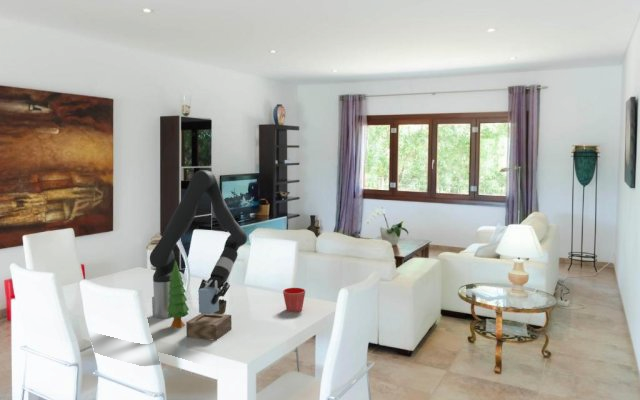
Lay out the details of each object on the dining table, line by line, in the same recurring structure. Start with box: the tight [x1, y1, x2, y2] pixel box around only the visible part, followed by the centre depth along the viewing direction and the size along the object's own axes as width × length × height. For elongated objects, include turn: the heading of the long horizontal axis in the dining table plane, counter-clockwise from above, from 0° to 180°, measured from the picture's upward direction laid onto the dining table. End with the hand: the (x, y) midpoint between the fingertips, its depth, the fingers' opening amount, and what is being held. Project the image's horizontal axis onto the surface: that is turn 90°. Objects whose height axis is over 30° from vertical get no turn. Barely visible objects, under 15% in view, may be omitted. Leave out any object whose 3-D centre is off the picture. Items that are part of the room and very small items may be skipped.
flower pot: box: [282, 287, 306, 313], centre depth 259 cm, size 11×11×10 cm
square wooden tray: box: [185, 313, 233, 341], centre depth 225 cm, size 14×14×7 cm
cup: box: [215, 298, 227, 314], centre depth 247 cm, size 8×7×8 cm
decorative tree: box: [167, 259, 190, 329], centre depth 234 cm, size 10×9×30 cm
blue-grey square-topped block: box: [197, 287, 220, 314], centre depth 225 cm, size 6×6×10 cm
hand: (206, 302), depth 223 cm, fingers closed on blue-grey square-topped block, 6 cm apart
